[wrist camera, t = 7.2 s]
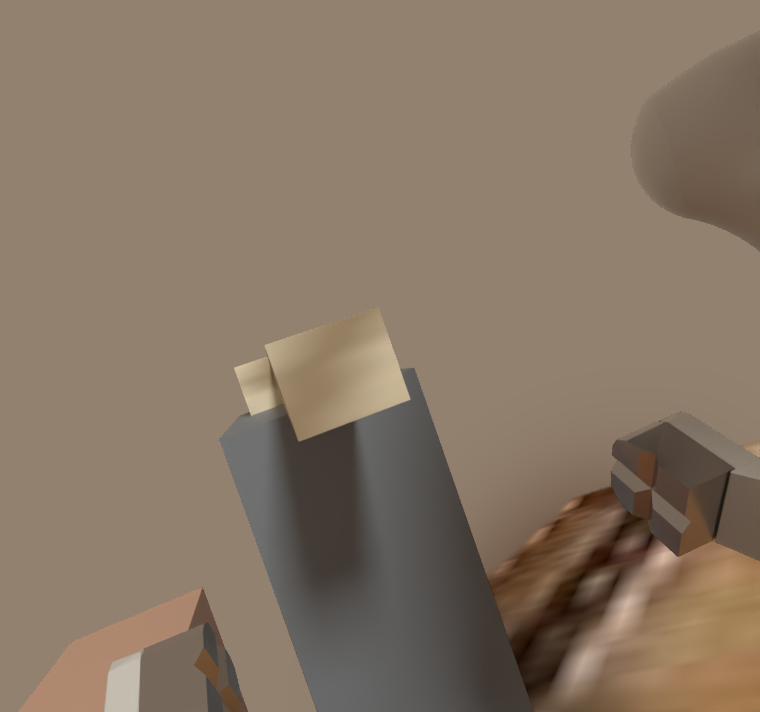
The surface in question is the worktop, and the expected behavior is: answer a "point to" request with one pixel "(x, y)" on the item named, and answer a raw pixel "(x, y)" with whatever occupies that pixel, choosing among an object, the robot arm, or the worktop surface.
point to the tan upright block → (115, 654)
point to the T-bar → (327, 375)
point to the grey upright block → (374, 563)
